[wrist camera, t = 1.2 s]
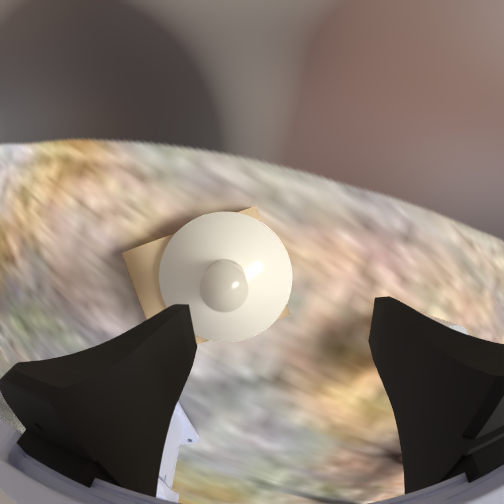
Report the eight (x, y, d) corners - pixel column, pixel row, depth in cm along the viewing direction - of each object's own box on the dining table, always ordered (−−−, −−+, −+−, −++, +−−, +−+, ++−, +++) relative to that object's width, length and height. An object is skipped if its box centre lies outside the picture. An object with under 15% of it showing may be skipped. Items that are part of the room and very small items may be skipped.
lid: (188, 352, 20) (181, 373, 16) (143, 236, 19) (127, 239, 15) (304, 316, 20) (317, 332, 17) (267, 194, 19) (274, 189, 16)
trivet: (167, 342, 21) (161, 353, 19) (131, 250, 20) (121, 252, 18) (285, 306, 22) (290, 314, 20) (253, 207, 21) (256, 205, 19)
